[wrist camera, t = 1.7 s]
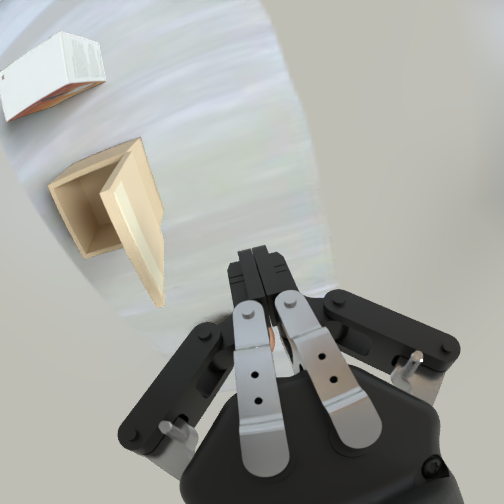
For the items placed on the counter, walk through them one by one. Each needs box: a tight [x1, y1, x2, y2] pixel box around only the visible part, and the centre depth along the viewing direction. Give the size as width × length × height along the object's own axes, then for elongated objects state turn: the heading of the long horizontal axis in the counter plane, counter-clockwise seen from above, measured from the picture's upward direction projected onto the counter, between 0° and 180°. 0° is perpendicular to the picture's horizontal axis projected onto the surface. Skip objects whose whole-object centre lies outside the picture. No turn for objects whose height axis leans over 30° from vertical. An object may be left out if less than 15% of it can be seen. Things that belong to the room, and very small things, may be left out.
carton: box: [48, 137, 164, 259], centre depth 27 cm, size 10×10×7 cm
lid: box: [99, 151, 165, 308], centre depth 21 cm, size 10×10×1 cm
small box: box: [0, 31, 106, 122], centre depth 16 cm, size 8×6×10 cm
